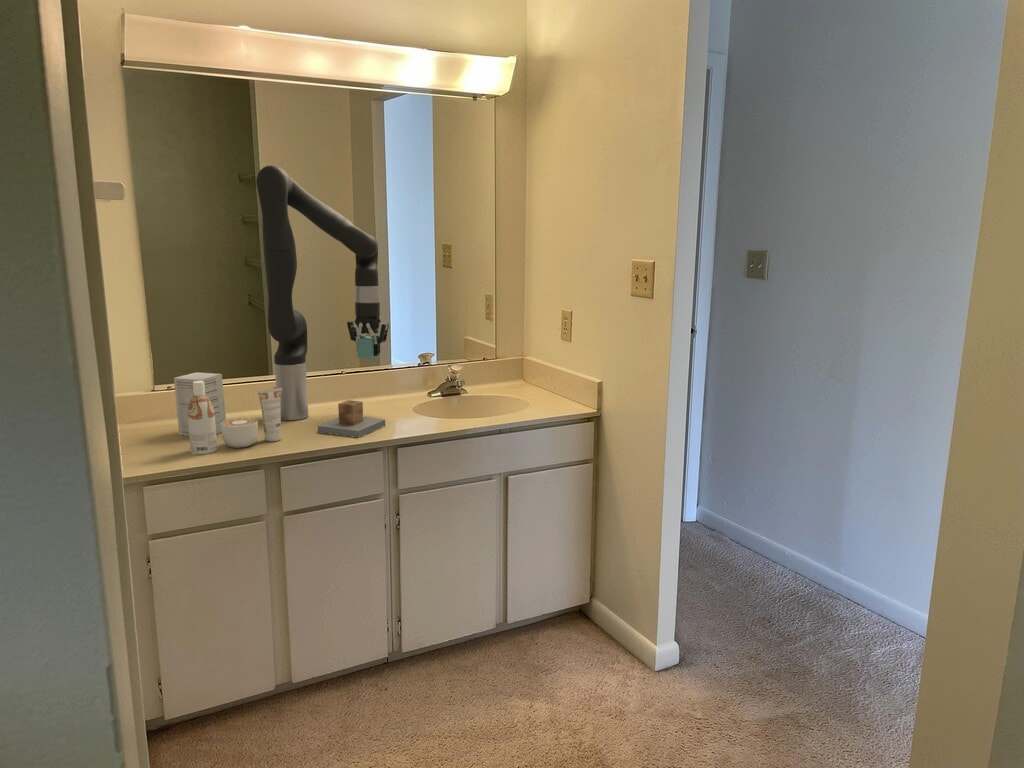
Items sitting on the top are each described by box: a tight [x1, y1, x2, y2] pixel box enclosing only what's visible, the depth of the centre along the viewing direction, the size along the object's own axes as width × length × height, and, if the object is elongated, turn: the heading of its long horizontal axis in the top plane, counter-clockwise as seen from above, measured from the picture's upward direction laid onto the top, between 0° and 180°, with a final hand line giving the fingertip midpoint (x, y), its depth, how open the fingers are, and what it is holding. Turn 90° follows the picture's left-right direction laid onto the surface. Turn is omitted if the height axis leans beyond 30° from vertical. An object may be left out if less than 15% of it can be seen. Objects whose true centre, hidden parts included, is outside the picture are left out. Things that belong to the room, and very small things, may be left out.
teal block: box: [356, 336, 381, 360], centre depth 230 cm, size 5×5×6 cm
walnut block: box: [337, 399, 364, 425], centre depth 217 cm, size 5×5×6 cm
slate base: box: [316, 416, 386, 438], centre depth 217 cm, size 14×14×2 cm
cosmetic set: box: [187, 381, 282, 455], centre depth 199 cm, size 25×9×19 cm, turn 127°
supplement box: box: [173, 372, 227, 437], centre depth 211 cm, size 10×9×17 cm
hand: (368, 355), depth 231 cm, fingers closed on teal block, 5 cm apart
